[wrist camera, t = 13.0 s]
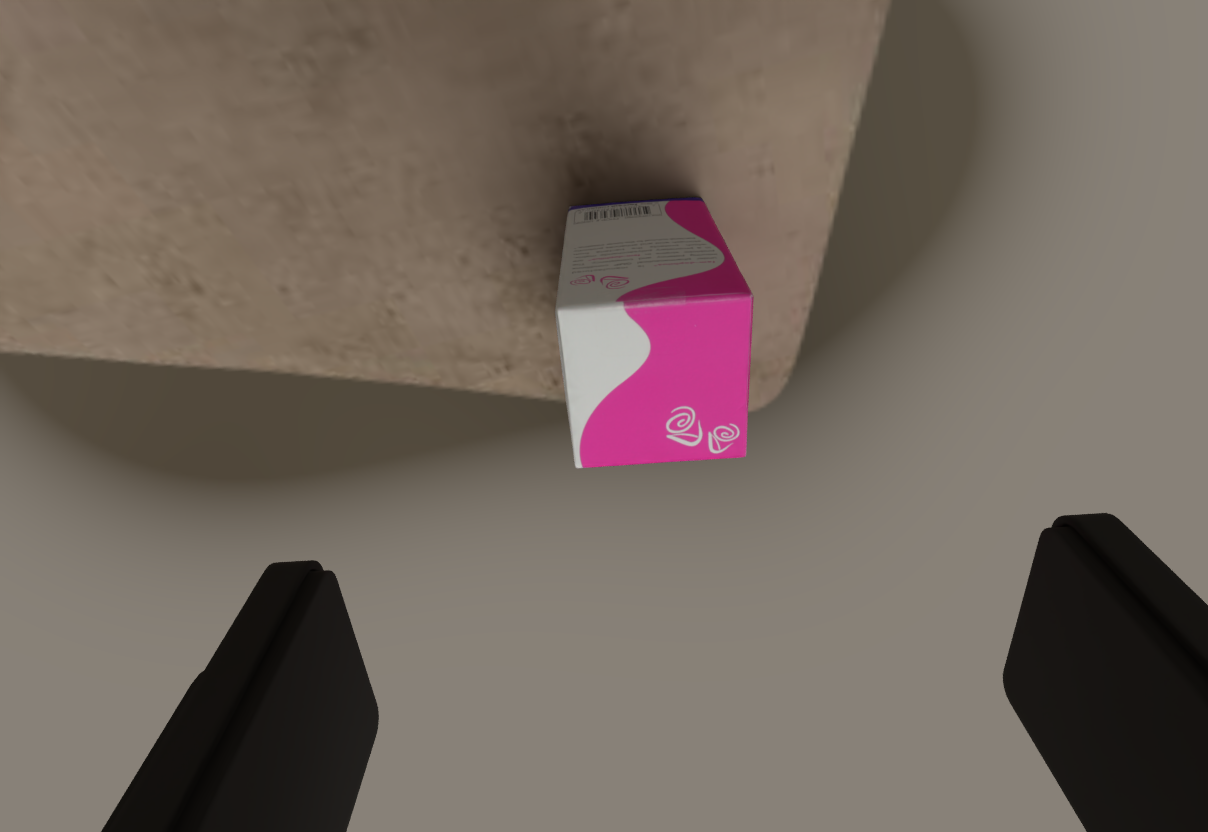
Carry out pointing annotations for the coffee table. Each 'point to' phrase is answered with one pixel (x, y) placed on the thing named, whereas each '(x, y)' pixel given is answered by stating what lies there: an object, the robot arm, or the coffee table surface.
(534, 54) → the coffee table surface
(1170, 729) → the robot arm
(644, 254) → the supplement box
